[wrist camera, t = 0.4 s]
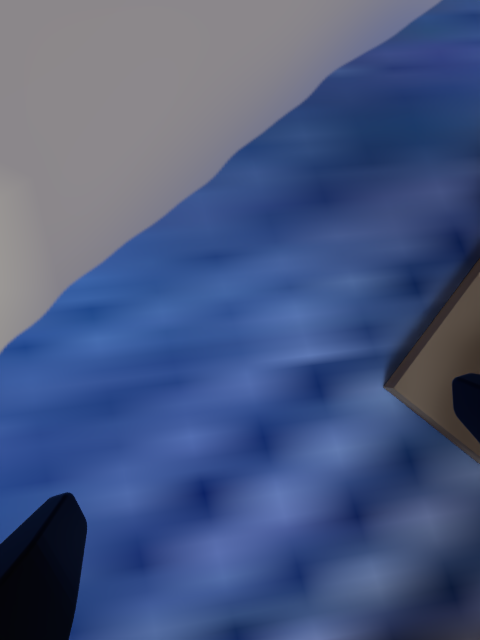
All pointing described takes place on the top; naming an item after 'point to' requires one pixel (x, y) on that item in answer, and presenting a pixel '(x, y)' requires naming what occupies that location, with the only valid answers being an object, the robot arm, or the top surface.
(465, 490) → the top surface
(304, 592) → the top surface
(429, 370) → the brown flat board
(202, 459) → the top surface
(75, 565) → the robot arm
